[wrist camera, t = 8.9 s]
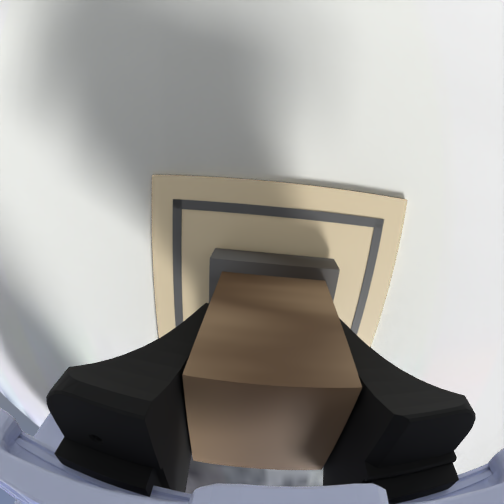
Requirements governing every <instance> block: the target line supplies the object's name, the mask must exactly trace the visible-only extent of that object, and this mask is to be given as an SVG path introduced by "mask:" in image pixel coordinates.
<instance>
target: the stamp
mask: <svg viewBox="0 0 504 504" xmlns="http://www.w3.org/2000/svg"><path fill="white" fill-rule="evenodd" d="M339 272H340V269H339V267H338V265H337V263H336V262H335V260H334V259H331V258H320V257H309V256H298V255H287V254H276V253H265V252H254V251H243V250H232V249H221V248H215V249H214V251H213V253H212V255H211V257H210V265H209V303H210V304H209V306H208V309H207V311H206V314H205V316H204V319H203V322H202V324H201V327H200V329H199V332H198V335H197V337H196V340H195V342H194V345H193V348H192V350H191V353H190V356H189V358H188V361H187V363H186V366H185V369H184V371H183V374H182V377H183V387H184V396H185V405H186V413H187V421H188V429H189V436H190V443H191V449H192V456H193V461H199V462H205V463H212V464H219V465H227V466H235V467H245V468H258V469H276V470H322V468H323V466H324V464H325V463H326V461H327V459H328V457H329V455H330V454H331V452H332V450H333V448H334V446H335V444H336V442H337V440H338V438H339V436H340V434H341V433H342V430H343V428H344V426H345V424H346V422H347V420H348V418H349V416H350V414H351V412H352V410H353V407H354V405H355V403H356V401H357V398H358V396H359V394H360V392H361V389H362V385H361V382H360V379H359V376H358V372H357V369H356V366H355V363H354V360H353V357H352V354H351V351H350V348H349V345H348V342H347V339H346V336H345V334H344V331H343V328H342V325H341V322H340V319H339V317H338V314H337V311H336V308H335V305H334V303H333V301H334V296H335V291H336V287H337V282H338V277H339Z"/></svg>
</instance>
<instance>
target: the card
mask: <svg viewBox="0 0 504 504" xmlns="http://www.w3.org/2000/svg"><path fill="white" fill-rule="evenodd" d="M406 206H407V200H406V199H401V198H395V197H389V196H383V195H377V194H371V193H364V192H358V191H351V190H343V189H336V188H328V187H320V186H312V185H303V184H294V183H284V182H274V181H263V180H251V179H238V178H223V177H206V176H184V175H152V253H153V274H154V290H155V303H156V315H157V325H158V335H159V338H161V337H162V336H164V335H165V334H167V333H168V332H170V331H171V330H173V329H174V328H175V327H177V326H178V325H179V324H181V323H182V322H183V321H185V320H186V319H187V318H188V317H190V316H191V315H192V314H193V313H194V312H195V311H197V310H198V309H199V308H200V307H201V306H203V305H204V304H205V303H209V265H210V257H211V255H212V253H213V251H214V249H215V248H221V249H232V250H243V251H254V252H265V253H276V254H287V255H298V256H309V257H320V258H331V259H334V260H335V262H336V263H337V265H338V267H339V269H340V272H339V277H338V282H337V287H336V291H335V296H334V301H333V303H334V305H335V308H336V311H337V314H338V317H339V318H340V319H341V320H342V321H343V322H344V323H345V324H346V325H347V326H348V327H349V328H350V329H351V330H352V331H353V332H354V333H355V334H356V335H357V336H358V337H359V338H360V339H361V340H363V341H364V342H365V343H366V344H367V345H368V346H369V347H371V344H372V341H373V338H374V335H375V332H376V329H377V326H378V323H379V320H380V316H381V313H382V310H383V306H384V303H385V299H386V296H387V292H388V288H389V285H390V281H391V277H392V273H393V269H394V265H395V261H396V256H397V252H398V247H399V243H400V238H401V233H402V228H403V223H404V217H405V211H406Z"/></svg>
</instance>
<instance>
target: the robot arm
mask: <svg viewBox="0 0 504 504" xmlns="http://www.w3.org/2000/svg"><path fill="white" fill-rule="evenodd" d="M209 304H210V303H205V304H204V305H203V306H201V307H200V308H199V309H198V310H197V311H195V312H194V313H193V314H192V315H191V316H190V317H188V318H187V319H186V320H185V321H183V322H182V323H181V324H179V325H178V326H177V327H175V328H174V329H173V330H171V331H170V332H168V333H167V334H165V335H164V336H162V337H161V338H159V339H157V340H155V341H153V342H152V343H150V344H148V345H146V346H144V347H142V348H139V349H137V350H134V351H132V352H129V353H127V354H124V355H122V356H119V357H115V358H112V359H109V360H105V361H101V362H97V363H92V364H86V365H80V366H74V367H69V368H68V369H67V370H66V371H65V372H64V374H63V375H62V376H61V377H60V379H59V380H58V381H57V383H56V384H55V385H54V386H53V388H52V389H51V390H50V392H49V393H48V395H47V397H46V398H47V405H48V408H49V410H50V414H49V415H48V417H47V418H46V419H45V421H44V422H43V424H42V425H41V427H40V428H39V430H38V431H37V433H36V434H35V436H34V437H32V436H30V435H29V434H27V433H25V432H23V431H22V430H21V427H20V426H19V424H18V423H17V421H16V420H15V419H14V418H13V417H12V416H11V415H10V414H9V413H8V412H6V411H5V410H3V409H1V408H0V487H1V488H2V489H3V490H4V491H6V492H7V493H9V494H10V495H11V496H13V497H14V498H15V499H16V501H15V502H14V504H504V448H503V449H502V450H500V451H499V452H498V453H497V454H496V455H495V456H494V457H493V458H492V459H491V460H490V461H489V463H488V464H485V465H483V466H481V467H478V468H476V469H473V470H470V471H468V472H465V473H462V474H460V475H457V473H456V470H455V468H454V465H453V462H455V461H456V458H457V457H456V455H455V453H454V450H455V449H456V448H457V446H458V445H459V444H460V443H461V442H462V440H463V439H464V438H465V437H466V436H467V434H468V433H469V431H470V430H471V428H472V427H473V424H474V421H475V413H474V411H473V409H472V407H471V406H470V404H469V402H468V400H467V399H466V397H465V396H464V395H461V394H457V393H454V392H450V391H447V390H444V389H441V388H438V387H436V386H433V385H431V384H428V383H426V382H424V381H421V380H419V379H417V378H415V377H413V376H412V375H410V374H408V373H406V372H404V371H403V370H401V369H399V368H398V367H396V366H395V365H393V364H392V363H390V362H389V361H387V360H386V359H384V358H383V357H382V356H380V355H379V354H378V353H377V352H375V351H374V350H373V349H372V348H371V347H369V346H368V345H367V344H366V343H365V342H364V341H363V340H361V339H360V338H359V337H358V336H357V335H356V334H355V333H354V332H353V331H352V330H351V329H350V328H349V327H348V326H347V325H346V324H345V323H344V322H343V321H342V320H341V319H340V318H339V319H340V322H341V325H342V328H343V331H344V334H345V336H346V339H347V342H348V345H349V348H350V351H351V354H352V357H353V360H354V363H355V366H356V369H357V372H358V376H359V379H360V382H361V385H362V389H361V392H360V394H359V396H358V398H357V401H356V403H355V405H354V407H353V410H352V412H351V414H350V416H349V418H348V420H347V422H346V424H345V426H344V428H343V430H342V433H341V434H340V436H339V438H338V440H337V442H336V444H335V446H334V448H333V450H332V452H331V454H330V455H329V457H328V459H327V461H326V463H325V464H324V468H323V486H310V487H280V486H258V485H245V484H213V485H208V486H203V487H199V488H197V489H195V490H194V492H193V493H192V494H190V493H185V490H186V484H187V477H188V471H189V466H190V460H191V454H192V449H191V443H190V436H189V429H188V421H187V413H186V405H185V396H184V387H183V377H182V374H183V371H184V369H185V366H186V363H187V361H188V358H189V356H190V353H191V350H192V348H193V345H194V342H195V340H196V337H197V335H198V332H199V329H200V327H201V324H202V322H203V319H204V316H205V314H206V311H207V309H208V306H209Z"/></svg>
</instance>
